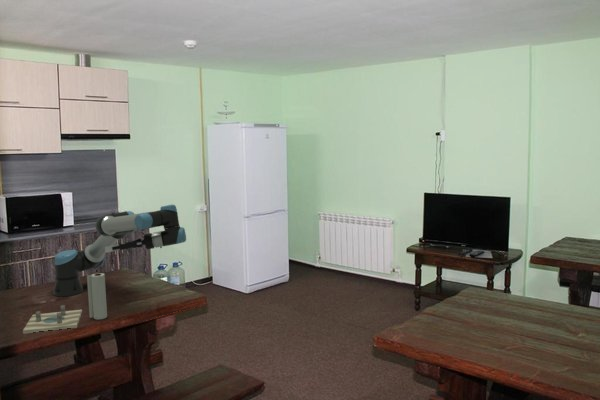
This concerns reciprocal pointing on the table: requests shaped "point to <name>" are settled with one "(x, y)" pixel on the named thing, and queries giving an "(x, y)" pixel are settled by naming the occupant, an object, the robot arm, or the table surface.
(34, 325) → the plate
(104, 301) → the paper towel roll
